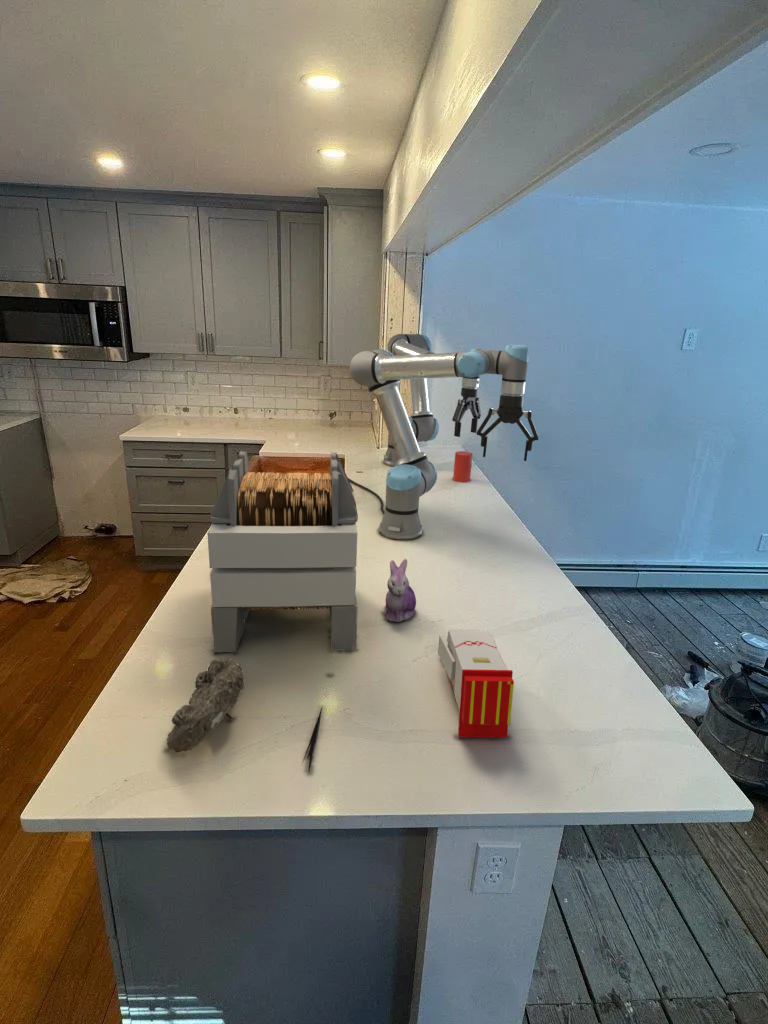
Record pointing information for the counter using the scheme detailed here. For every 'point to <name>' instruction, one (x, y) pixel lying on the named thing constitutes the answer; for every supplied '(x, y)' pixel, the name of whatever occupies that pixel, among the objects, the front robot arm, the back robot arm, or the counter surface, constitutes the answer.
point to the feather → (313, 740)
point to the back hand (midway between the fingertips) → (465, 434)
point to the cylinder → (462, 466)
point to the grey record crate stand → (283, 549)
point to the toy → (478, 682)
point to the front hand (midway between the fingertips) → (504, 458)
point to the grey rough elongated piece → (206, 705)
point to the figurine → (399, 594)
